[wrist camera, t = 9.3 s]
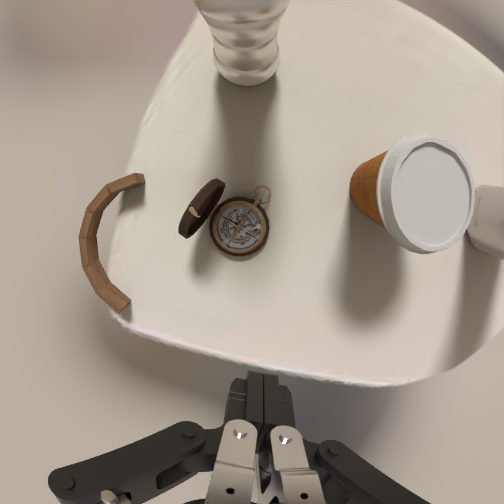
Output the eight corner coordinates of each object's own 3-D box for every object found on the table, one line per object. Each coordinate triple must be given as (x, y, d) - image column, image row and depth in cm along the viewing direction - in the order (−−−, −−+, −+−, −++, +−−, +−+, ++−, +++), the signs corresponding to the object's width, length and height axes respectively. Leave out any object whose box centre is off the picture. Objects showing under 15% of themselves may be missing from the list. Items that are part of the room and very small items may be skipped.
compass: (248, 265, 31) (246, 289, 24) (187, 224, 30) (167, 237, 23) (291, 204, 29) (303, 211, 22) (228, 161, 28) (221, 154, 21)
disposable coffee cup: (423, 188, 29) (491, 196, 17) (376, 248, 30) (433, 282, 19) (370, 129, 27) (430, 105, 15) (317, 190, 29) (358, 194, 17)
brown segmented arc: (146, 174, 28) (138, 173, 26) (130, 306, 32) (122, 314, 30) (98, 167, 28) (87, 166, 26) (87, 292, 32) (77, 299, 29)
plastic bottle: (261, 101, 27) (274, -22, 7) (205, 77, 26) (144, -44, 6) (288, 56, 25) (326, -73, 6) (233, 34, 25) (213, -97, 5)
